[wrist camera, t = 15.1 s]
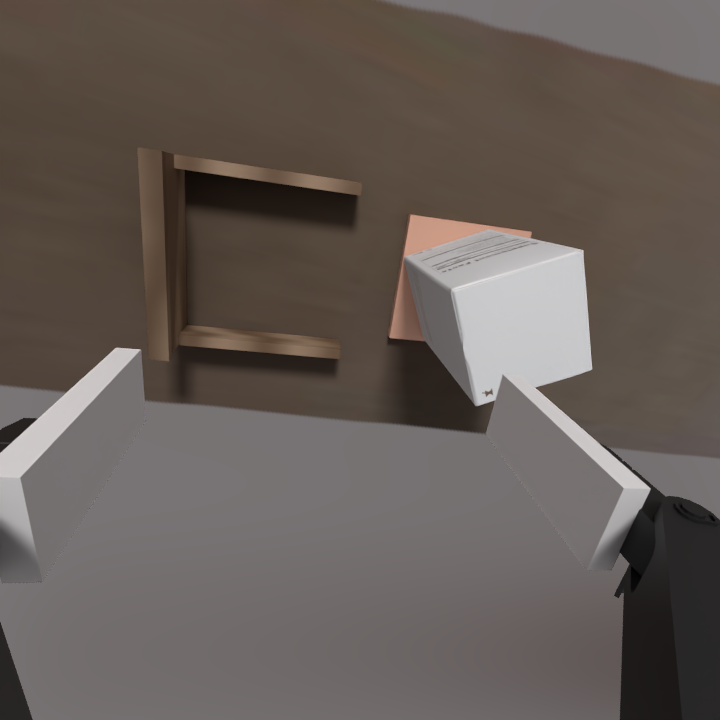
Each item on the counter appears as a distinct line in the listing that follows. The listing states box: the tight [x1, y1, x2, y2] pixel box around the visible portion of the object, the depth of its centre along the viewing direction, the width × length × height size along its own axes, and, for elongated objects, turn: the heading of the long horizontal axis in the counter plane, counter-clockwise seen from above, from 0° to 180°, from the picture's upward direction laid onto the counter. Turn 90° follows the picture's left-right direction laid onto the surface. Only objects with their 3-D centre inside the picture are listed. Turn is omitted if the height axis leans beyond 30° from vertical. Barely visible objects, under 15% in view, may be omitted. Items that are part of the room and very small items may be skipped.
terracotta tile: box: [388, 214, 532, 341], centre depth 42 cm, size 12×12×1 cm
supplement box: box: [404, 229, 592, 406], centre depth 34 cm, size 9×9×15 cm
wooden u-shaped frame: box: [137, 147, 362, 361], centre depth 36 cm, size 16×16×7 cm
